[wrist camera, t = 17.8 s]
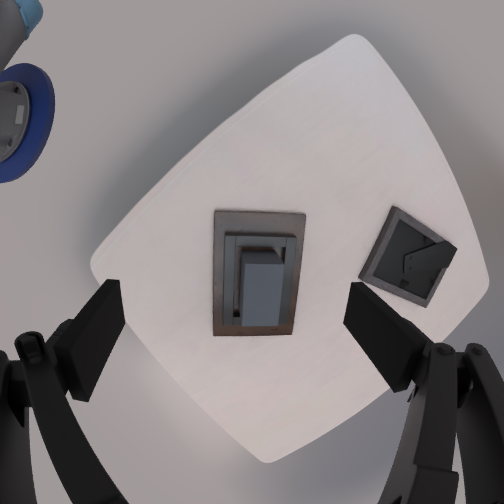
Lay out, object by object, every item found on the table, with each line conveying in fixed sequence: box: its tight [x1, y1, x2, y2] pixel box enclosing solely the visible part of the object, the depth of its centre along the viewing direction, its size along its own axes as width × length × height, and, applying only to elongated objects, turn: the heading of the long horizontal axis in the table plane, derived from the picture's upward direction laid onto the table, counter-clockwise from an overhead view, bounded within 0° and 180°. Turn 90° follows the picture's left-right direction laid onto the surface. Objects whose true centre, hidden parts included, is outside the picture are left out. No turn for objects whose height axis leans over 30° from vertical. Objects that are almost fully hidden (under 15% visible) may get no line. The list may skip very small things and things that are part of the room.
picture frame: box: [358, 206, 457, 308], centre depth 46 cm, size 13×2×18 cm
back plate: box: [213, 210, 306, 336], centre depth 43 cm, size 20×13×2 cm, turn 177°
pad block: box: [239, 250, 284, 326], centre depth 40 cm, size 9×5×6 cm, turn 177°
